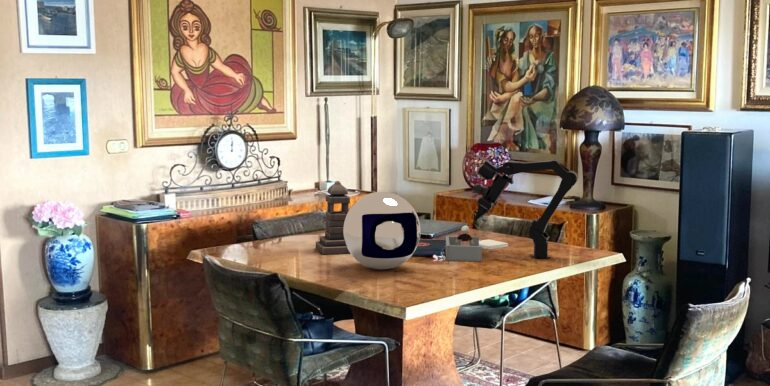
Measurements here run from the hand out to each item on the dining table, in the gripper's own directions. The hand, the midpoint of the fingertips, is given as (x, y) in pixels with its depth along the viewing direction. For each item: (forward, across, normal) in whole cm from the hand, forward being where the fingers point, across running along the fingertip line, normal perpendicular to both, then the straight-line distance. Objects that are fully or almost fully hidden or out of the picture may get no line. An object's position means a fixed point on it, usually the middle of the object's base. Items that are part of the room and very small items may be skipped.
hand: (477, 217), depth 378 cm
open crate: (+15, +7, +4) cm, 17 cm away
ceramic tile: (+12, -18, +10) cm, 23 cm away
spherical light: (+28, +45, -17) cm, 56 cm away
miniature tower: (+42, +16, -41) cm, 61 cm away
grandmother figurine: (+15, +7, +5) cm, 17 cm away
